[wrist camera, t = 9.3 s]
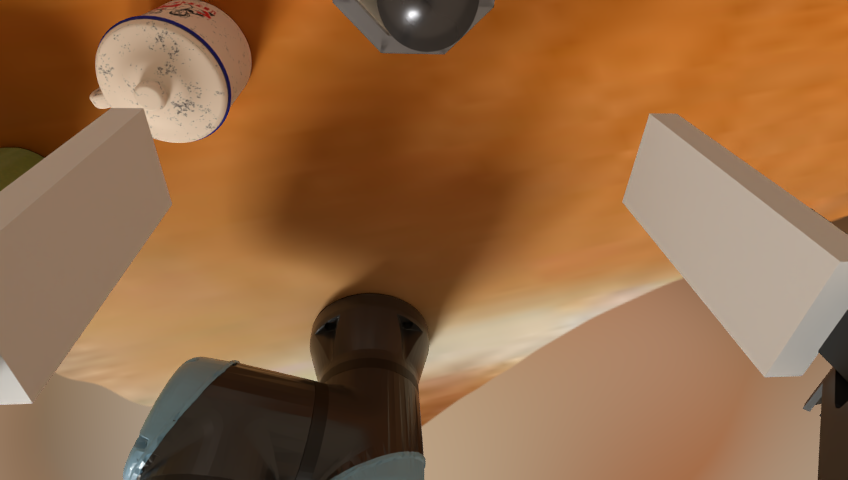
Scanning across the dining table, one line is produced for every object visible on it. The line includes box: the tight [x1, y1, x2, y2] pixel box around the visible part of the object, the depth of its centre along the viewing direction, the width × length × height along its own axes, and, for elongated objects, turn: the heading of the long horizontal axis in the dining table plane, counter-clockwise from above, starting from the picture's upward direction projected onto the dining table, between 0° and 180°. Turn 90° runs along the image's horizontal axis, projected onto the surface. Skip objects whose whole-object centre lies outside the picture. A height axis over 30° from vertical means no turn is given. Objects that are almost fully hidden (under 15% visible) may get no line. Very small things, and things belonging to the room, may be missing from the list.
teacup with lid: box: [90, 0, 252, 143], centre depth 37 cm, size 12×9×12 cm
